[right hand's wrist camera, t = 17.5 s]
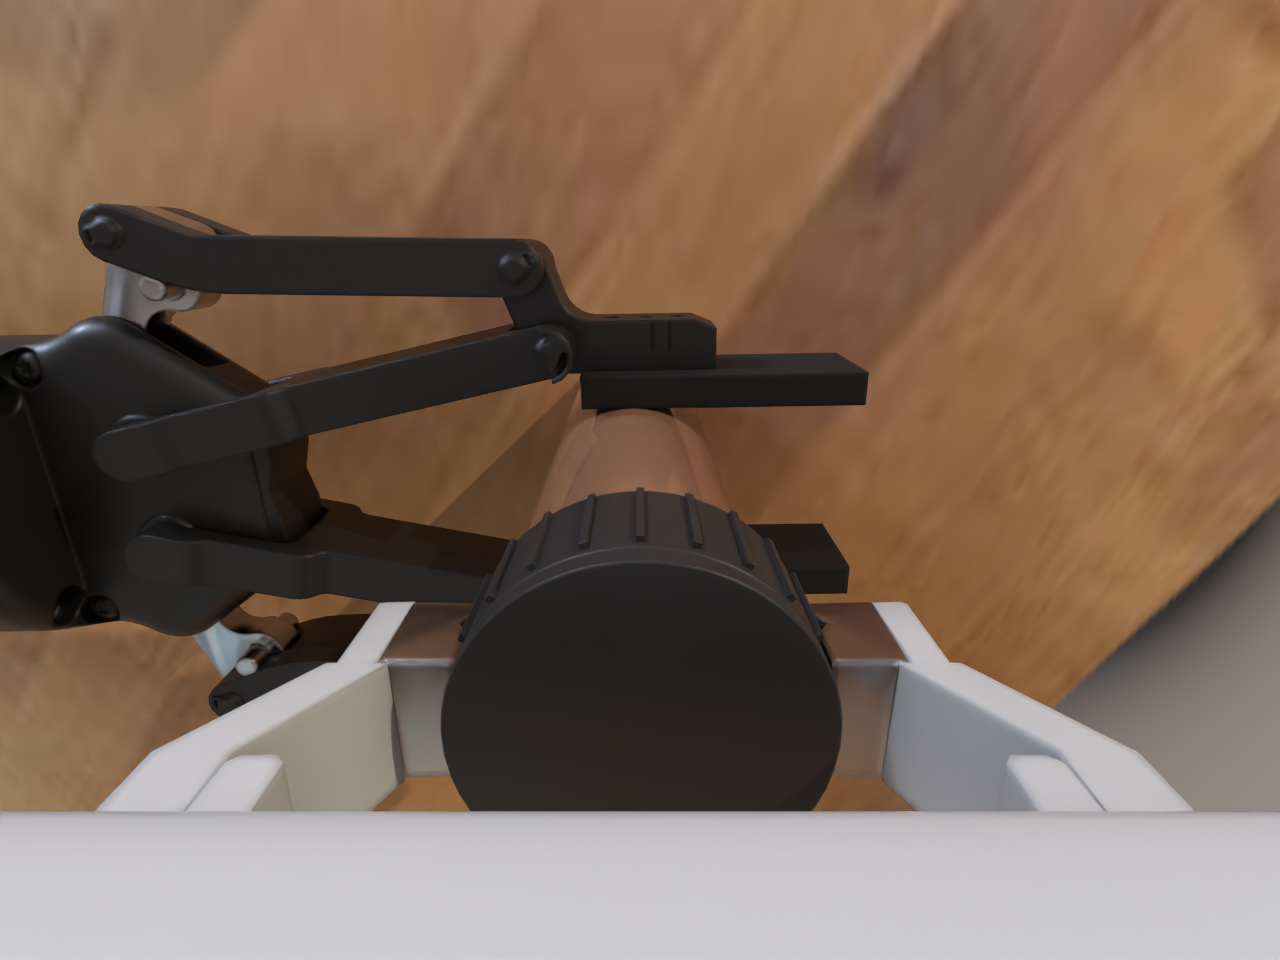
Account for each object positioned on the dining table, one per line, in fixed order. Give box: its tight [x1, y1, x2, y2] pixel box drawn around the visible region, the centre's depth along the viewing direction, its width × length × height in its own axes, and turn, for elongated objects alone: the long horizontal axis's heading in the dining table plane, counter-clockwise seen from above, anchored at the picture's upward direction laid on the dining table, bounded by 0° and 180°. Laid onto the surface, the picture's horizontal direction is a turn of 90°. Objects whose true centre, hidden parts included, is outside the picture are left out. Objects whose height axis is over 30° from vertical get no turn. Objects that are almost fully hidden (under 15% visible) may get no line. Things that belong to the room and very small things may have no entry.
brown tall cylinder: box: [527, 385, 731, 531], centre depth 16 cm, size 4×4×16 cm
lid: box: [441, 487, 843, 811], centre depth 9 cm, size 5×5×2 cm
